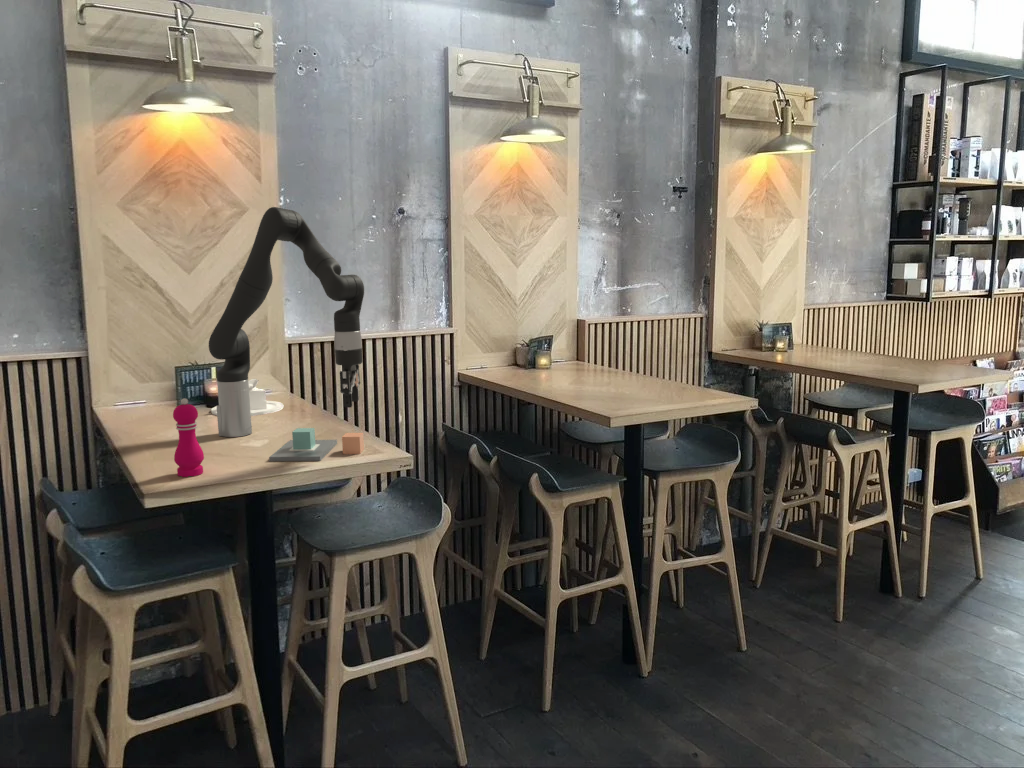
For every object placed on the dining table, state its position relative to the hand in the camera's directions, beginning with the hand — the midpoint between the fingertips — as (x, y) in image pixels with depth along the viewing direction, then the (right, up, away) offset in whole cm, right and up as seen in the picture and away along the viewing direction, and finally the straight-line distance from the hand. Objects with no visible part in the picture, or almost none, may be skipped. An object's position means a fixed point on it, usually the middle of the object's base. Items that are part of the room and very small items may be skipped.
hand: (351, 404), depth 239 cm
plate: (-14, -14, +3) cm, 20 cm away
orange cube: (0, -14, +2) cm, 14 cm away
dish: (-50, -4, +67) cm, 84 cm away
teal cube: (-14, -12, +2) cm, 19 cm away
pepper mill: (-38, -18, -18) cm, 46 cm away
